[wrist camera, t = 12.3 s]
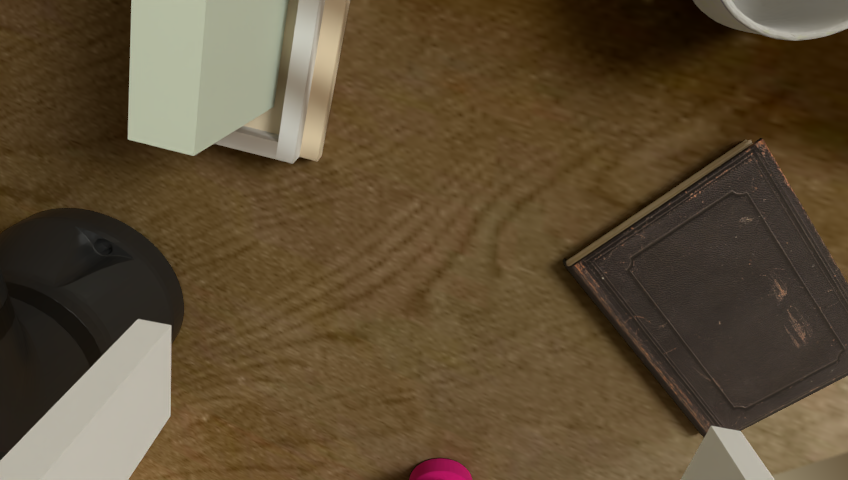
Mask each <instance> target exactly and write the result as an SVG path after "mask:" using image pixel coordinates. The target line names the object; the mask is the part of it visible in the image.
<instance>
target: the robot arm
mask: <svg viewBox="0 0 848 480" xmlns="http://www.w3.org/2000/svg"><path fill="white" fill-rule="evenodd" d="M183 315H184V302H183V295H182V291H181V287H180V284H179V282H178V279H177V277H176V275H175V273H174V271H173V269H172V267H171V266H170V264H169V263H168V261H167V260H166V258H165V257H164V256H163V255H162V253H161V252H160V251H159V250H158V249H157V248H156V247H155V246H154V245H153V244H152V243H151V242H150V241H149V240H148V239H147V238H145V237H144V236H143V235H142V234H140V233H139V232H137V231H136V230H134V229H133V228H131V227H130V226H128V225H126V224H124V223H123V222H121V221H119V220H117V219H114V218H112V217H109V216H107V215H104V214H101V213H97V212H94V211H89V210H83V209H75V208H60V209H52V210H47V211H43V212H40V213H37V214H34V215H32V216H30V217H28V218H26V219H24V220H22V221H21V222H19V223H17V224H15V225H13V226H11V227H9V228H8V229H6V230H5V231H3V232H2V233H1V234H0V480H128V479H129V478H130V476H131V475H132V473H133V472H134V470H135V469H136V467H137V466H138V464H139V463H140V461H141V460H142V458H143V457H144V455H145V454H146V452H147V450H148V449H149V447H150V446H151V444H152V443H153V441H154V440H155V438H156V437H157V435H158V434H159V432H160V431H161V429H162V428H163V426H164V425H165V423H166V422H167V420H168V419H169V417H170V416H171V344H172V343H173V341H174V340H175V338H176V337H177V335H178V333H179V331H180V328H181V325H182V321H183ZM681 480H775V479H774V478H773V476H772V475H771V474H770V472H769V471H768V469H767V468H766V466H765V465H764V464H763V462H762V461H761V459H760V458H759V457H758V455H757V454H756V452H755V451H754V449H753V448H752V447H751V445H750V444H749V442H748V441H747V440H746V438H745V437H744V435H743V434H742V432H741V431H737V430H732V429H726V428H721V427H716V426H710V428H709V430H708V432H707V434H706V435H705V437H704V439H703V441H702V442H701V444H700V446H699V448H698V450H697V451H696V453H695V455H694V457H693V459H692V460H691V462H690V464H689V466H688V467H687V469H686V471H685V473H684V475H683V476H682V478H681Z"/></svg>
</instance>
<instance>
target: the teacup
mask: <svg viewBox="0 0 848 480" xmlns="http://www.w3.org/2000/svg"><path fill="white" fill-rule="evenodd" d="M693 2H694V3H695V4H696V6H697V7H698V8H699V9H700V10H701V11H702V12H703V13H705V14H706V15H707V16H708V17H710V18H711V19H713V20H715V21H716V22H718V23H720V24H722V25H725V26H727V27H730V28H733V29H737V30H740V31H745V32H750V33H755V34H761V35H764V36H766V37H770V38H775V39H782V40H795V41H798V40H808V39H815V38H820V37H825V36H829V35H832V34H835V33H837V32H840V31H843V30H845V29H847V28H848V0H693Z"/></svg>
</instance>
